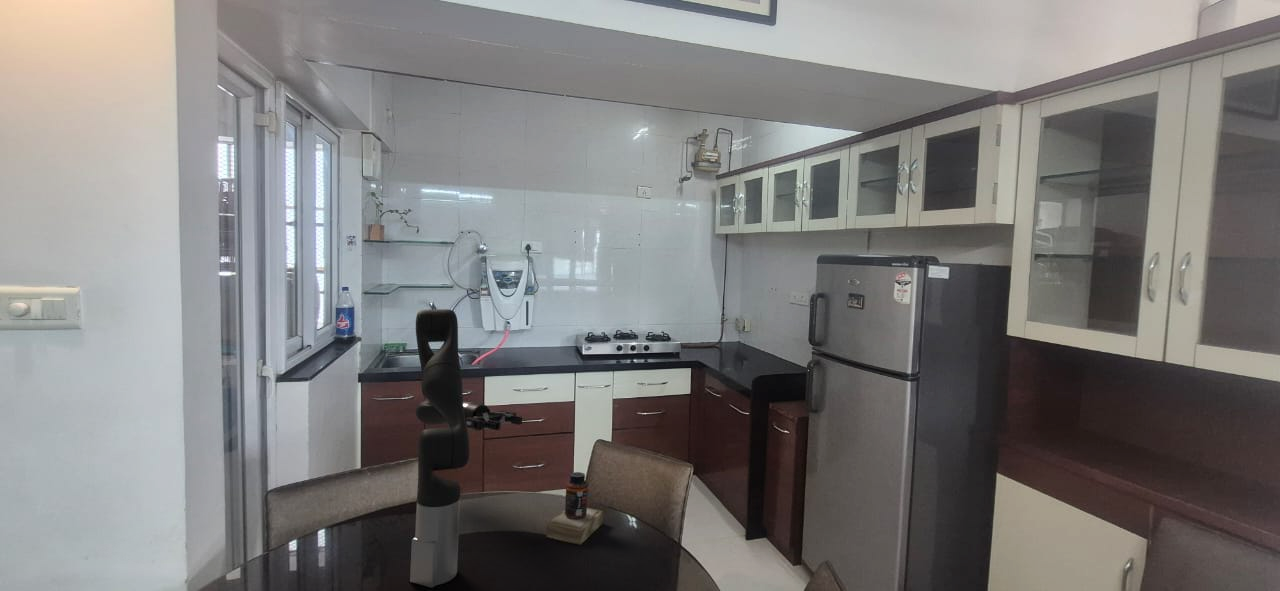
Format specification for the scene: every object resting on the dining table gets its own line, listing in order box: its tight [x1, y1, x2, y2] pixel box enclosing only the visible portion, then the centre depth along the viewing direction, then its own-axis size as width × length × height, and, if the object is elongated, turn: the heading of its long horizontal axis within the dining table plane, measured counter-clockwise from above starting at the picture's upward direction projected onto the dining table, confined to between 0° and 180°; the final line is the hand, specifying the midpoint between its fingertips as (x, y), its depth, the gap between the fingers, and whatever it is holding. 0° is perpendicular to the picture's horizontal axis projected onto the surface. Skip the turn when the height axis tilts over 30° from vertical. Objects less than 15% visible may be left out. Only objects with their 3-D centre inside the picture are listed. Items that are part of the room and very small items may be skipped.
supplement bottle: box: [564, 471, 589, 519], centre depth 146 cm, size 6×6×11 cm
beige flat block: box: [546, 507, 604, 546], centre depth 146 cm, size 14×10×4 cm
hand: (510, 423), depth 149 cm, fingers open, 8 cm apart
